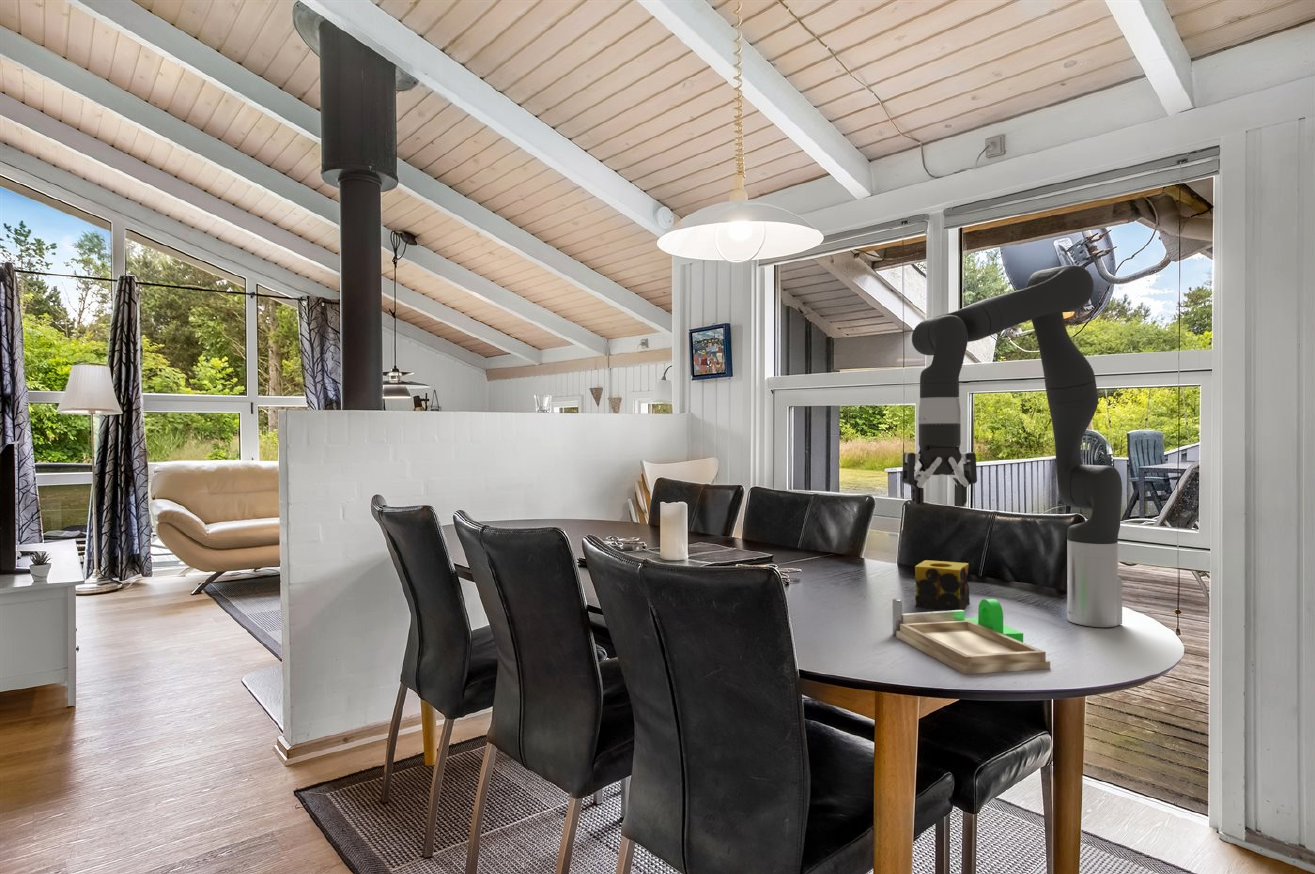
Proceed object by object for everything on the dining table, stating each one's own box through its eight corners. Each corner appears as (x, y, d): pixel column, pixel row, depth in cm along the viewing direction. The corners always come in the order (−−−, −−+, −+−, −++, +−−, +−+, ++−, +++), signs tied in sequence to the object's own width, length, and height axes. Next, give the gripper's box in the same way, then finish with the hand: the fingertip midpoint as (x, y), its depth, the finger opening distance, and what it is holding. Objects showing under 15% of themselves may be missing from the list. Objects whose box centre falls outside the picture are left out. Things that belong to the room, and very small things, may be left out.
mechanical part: (1023, 643, 142) (1023, 601, 142) (993, 644, 142) (993, 602, 142) (989, 627, 154) (989, 588, 154) (962, 628, 154) (961, 589, 154)
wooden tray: (970, 632, 149) (970, 619, 149) (1050, 668, 126) (1050, 652, 126) (896, 637, 146) (896, 623, 146) (964, 674, 124) (964, 657, 124)
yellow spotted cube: (970, 605, 173) (970, 563, 173) (961, 614, 165) (961, 569, 164) (924, 600, 179) (924, 559, 178) (914, 609, 170) (914, 565, 170)
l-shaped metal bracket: (960, 628, 152) (960, 594, 152) (965, 630, 151) (965, 596, 151) (890, 633, 149) (890, 598, 149) (895, 636, 147) (895, 600, 147)
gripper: (915, 421, 137) (915, 509, 137) (985, 421, 139) (985, 507, 139) (895, 422, 144) (895, 505, 144) (961, 422, 147) (962, 504, 147)
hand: (939, 506), depth 142 cm, fingers open, 8 cm apart
